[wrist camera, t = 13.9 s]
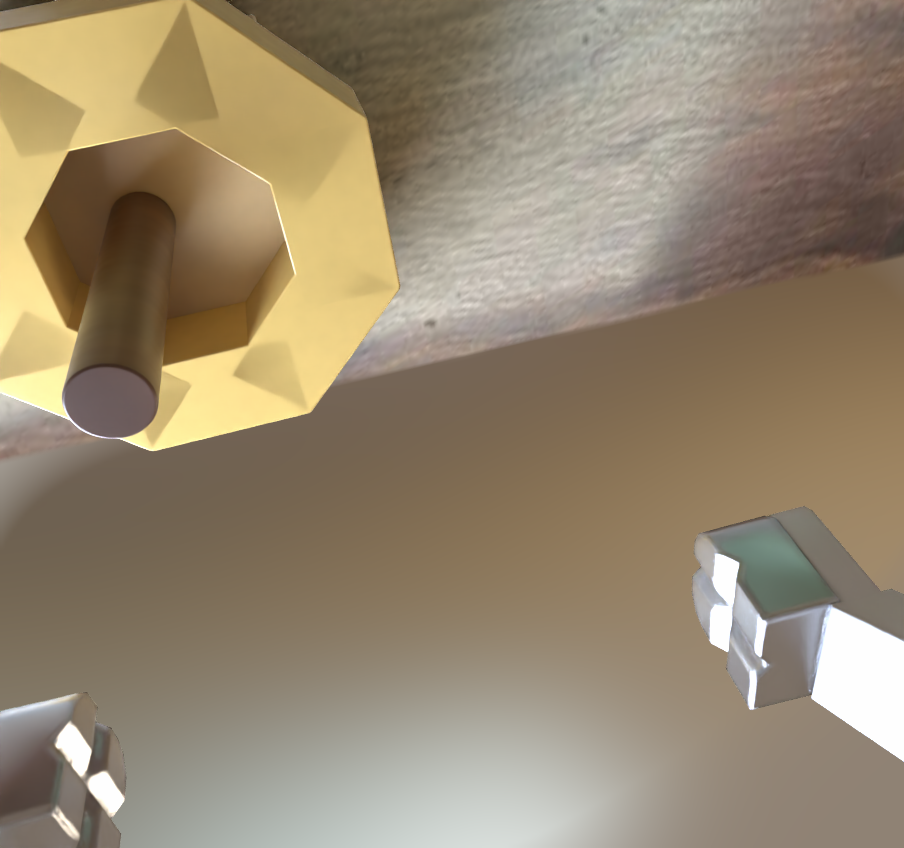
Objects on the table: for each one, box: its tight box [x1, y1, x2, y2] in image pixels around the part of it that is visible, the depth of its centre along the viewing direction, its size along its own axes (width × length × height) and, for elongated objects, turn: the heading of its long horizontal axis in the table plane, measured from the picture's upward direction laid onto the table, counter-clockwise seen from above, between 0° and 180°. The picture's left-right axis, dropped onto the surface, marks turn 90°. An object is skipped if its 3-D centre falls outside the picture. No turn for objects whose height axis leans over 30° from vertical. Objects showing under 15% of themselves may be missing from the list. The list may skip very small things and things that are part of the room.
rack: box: [44, 15, 285, 439], centre depth 21 cm, size 9×9×11 cm
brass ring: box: [0, 0, 400, 451], centre depth 23 cm, size 12×12×3 cm
